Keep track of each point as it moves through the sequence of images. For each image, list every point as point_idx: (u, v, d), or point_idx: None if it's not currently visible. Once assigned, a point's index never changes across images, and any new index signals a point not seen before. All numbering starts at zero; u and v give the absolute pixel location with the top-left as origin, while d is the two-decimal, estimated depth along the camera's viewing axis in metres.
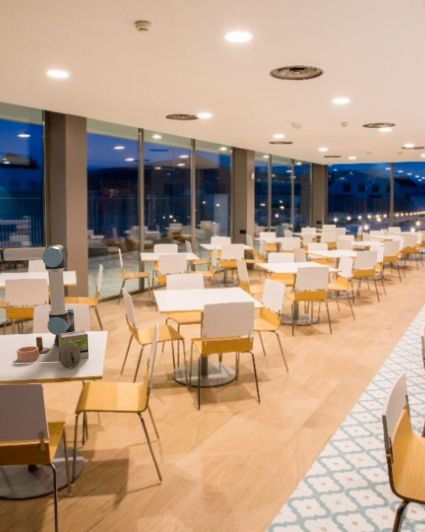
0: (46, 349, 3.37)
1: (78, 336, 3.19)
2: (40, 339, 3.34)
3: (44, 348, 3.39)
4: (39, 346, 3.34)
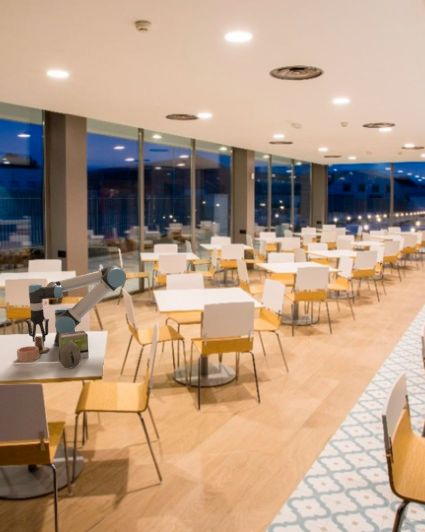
0: (46, 349, 3.37)
1: (78, 336, 3.19)
2: (40, 339, 3.34)
3: (44, 348, 3.39)
4: (39, 346, 3.34)
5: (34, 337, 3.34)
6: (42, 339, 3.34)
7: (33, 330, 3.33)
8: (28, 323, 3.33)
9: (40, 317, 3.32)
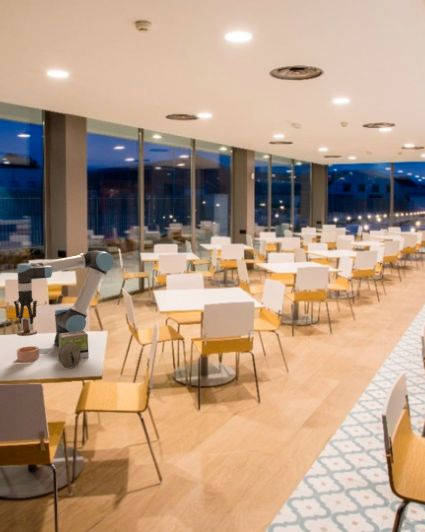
0: (33, 331, 3.24)
1: (78, 336, 3.19)
2: (27, 321, 3.22)
3: (31, 331, 3.27)
4: (26, 328, 3.22)
5: (21, 319, 3.21)
6: (29, 321, 3.21)
7: (20, 312, 3.21)
8: (15, 304, 3.20)
9: (28, 298, 3.20)
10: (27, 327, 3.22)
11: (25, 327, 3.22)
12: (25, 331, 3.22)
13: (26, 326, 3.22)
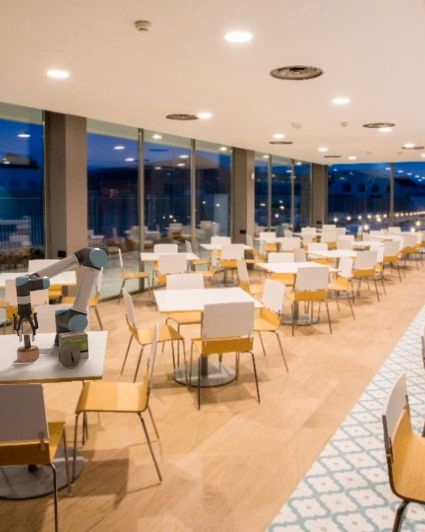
0: (34, 347, 3.23)
1: (78, 336, 3.19)
2: (28, 336, 3.20)
3: (32, 346, 3.26)
4: (27, 344, 3.21)
5: (18, 331, 3.20)
6: (32, 333, 3.20)
7: (18, 324, 3.19)
8: (14, 316, 3.18)
9: (27, 311, 3.18)
10: (28, 343, 3.21)
11: (26, 343, 3.20)
12: (26, 347, 3.21)
13: (27, 342, 3.20)
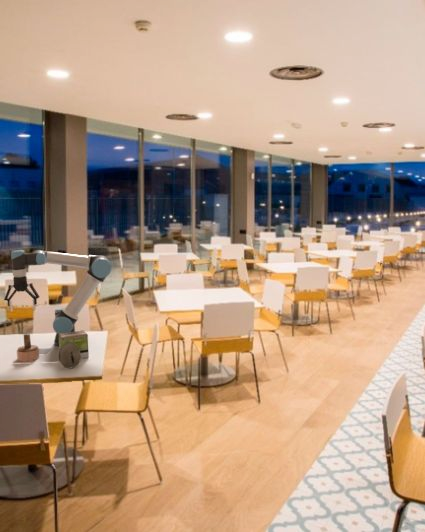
0: (34, 347, 3.23)
1: (78, 336, 3.19)
2: (28, 336, 3.20)
3: (32, 346, 3.26)
4: (27, 344, 3.21)
5: (9, 301, 3.29)
6: (33, 302, 3.31)
7: (11, 295, 3.29)
8: (9, 288, 3.28)
9: (23, 285, 3.29)
10: (28, 343, 3.21)
11: (26, 343, 3.20)
12: (26, 347, 3.21)
13: (27, 342, 3.20)
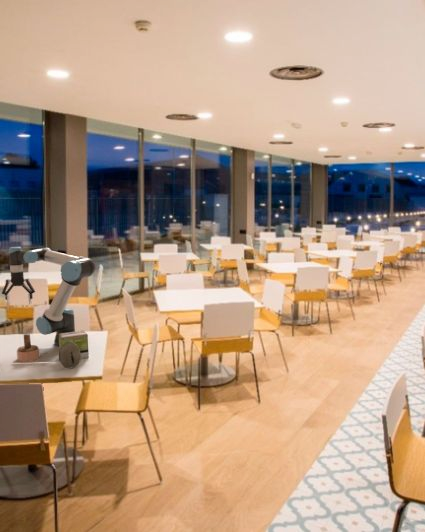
0: (34, 347, 3.23)
1: (78, 336, 3.19)
2: (28, 336, 3.20)
3: (32, 346, 3.26)
4: (27, 344, 3.21)
5: (6, 295, 3.47)
6: (29, 296, 3.47)
7: (8, 289, 3.46)
8: (7, 282, 3.46)
9: (19, 280, 3.46)
10: (28, 343, 3.21)
11: (26, 343, 3.20)
12: (26, 347, 3.21)
13: (27, 342, 3.20)
